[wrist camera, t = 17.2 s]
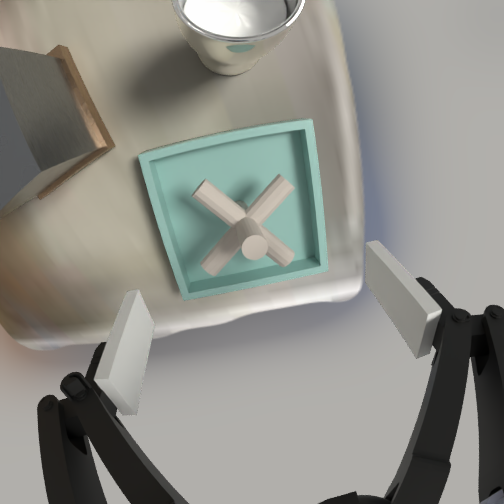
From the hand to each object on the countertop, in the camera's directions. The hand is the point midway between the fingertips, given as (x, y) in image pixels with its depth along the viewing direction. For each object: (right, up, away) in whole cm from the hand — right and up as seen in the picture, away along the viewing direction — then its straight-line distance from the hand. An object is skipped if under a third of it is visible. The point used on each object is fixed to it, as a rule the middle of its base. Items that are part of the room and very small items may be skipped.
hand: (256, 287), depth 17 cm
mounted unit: (-21, +15, +7) cm, 27 cm away
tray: (-1, +6, +14) cm, 15 cm away
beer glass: (-2, +21, +7) cm, 22 cm away
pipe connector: (-1, +6, +13) cm, 15 cm away
